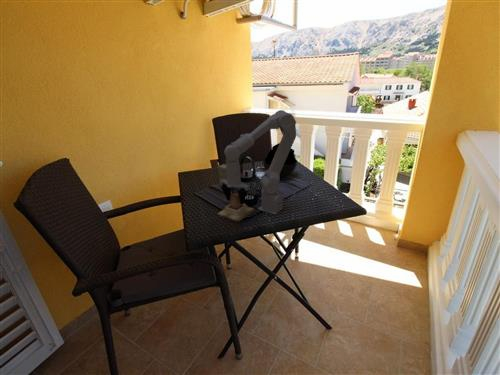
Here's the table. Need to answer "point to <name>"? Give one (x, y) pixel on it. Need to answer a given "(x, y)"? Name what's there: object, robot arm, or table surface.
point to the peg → (235, 201)
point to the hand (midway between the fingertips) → (235, 201)
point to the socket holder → (236, 212)
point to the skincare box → (222, 173)
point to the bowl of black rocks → (288, 164)
